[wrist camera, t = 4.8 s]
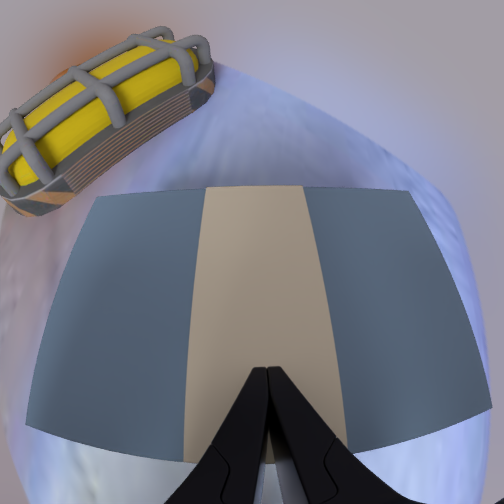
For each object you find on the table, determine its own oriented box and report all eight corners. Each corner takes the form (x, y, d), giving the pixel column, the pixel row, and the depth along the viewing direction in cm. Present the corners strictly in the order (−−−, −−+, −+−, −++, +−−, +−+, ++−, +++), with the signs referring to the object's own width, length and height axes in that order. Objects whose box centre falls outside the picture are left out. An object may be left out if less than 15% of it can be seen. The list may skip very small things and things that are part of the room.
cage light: (-26, 138, 20) (166, 16, 30) (4, 176, 28) (173, 59, 37) (-21, 200, 16) (238, 33, 25) (26, 244, 23) (239, 88, 32)
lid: (478, 413, 8) (494, 407, 7) (40, 429, 8) (24, 423, 7) (403, 203, 16) (408, 189, 15) (102, 209, 16) (96, 195, 15)
